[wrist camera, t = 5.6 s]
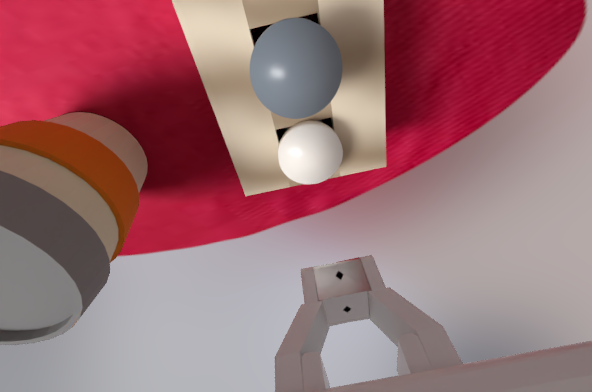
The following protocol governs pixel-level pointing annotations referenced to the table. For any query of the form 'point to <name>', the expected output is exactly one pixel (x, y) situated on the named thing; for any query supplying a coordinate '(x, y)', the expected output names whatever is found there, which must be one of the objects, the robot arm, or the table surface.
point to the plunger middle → (295, 68)
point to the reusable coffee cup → (62, 218)
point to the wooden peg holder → (261, 121)
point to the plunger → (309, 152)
